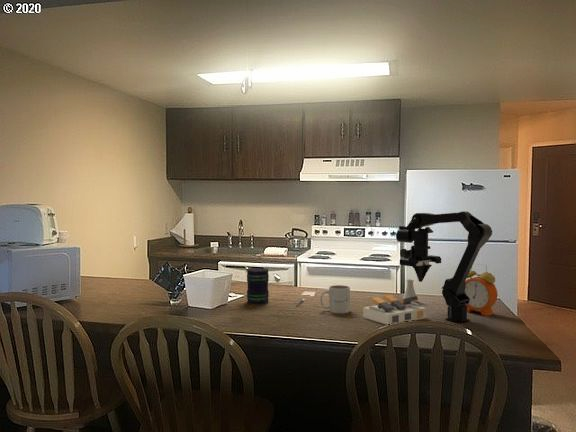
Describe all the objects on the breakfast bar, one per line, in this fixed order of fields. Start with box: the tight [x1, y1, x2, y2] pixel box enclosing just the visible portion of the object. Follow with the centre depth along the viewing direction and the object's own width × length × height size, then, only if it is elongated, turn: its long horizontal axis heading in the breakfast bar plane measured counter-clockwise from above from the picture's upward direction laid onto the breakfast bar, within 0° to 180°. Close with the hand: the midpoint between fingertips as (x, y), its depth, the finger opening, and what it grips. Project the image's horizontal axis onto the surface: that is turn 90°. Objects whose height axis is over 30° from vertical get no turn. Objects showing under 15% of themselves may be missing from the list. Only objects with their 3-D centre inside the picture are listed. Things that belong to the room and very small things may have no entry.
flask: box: [402, 278, 419, 304], centre depth 216 cm, size 7×7×10 cm
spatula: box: [295, 291, 316, 308], centre depth 220 cm, size 6×29×2 cm, turn 166°
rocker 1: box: [370, 296, 394, 312], centre depth 183 cm, size 9×4×2 cm, turn 32°
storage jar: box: [246, 267, 270, 306], centre depth 214 cm, size 10×10×15 cm
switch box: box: [362, 302, 427, 326], centre depth 186 cm, size 14×20×5 cm
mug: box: [319, 284, 351, 314], centre depth 199 cm, size 12×9×10 cm
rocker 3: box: [398, 295, 419, 305], centre depth 190 cm, size 9×4×2 cm, turn 32°
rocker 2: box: [382, 294, 406, 310], centre depth 187 cm, size 9×4×2 cm, turn 32°
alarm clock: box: [465, 263, 499, 317], centre depth 195 cm, size 13×6×20 cm, turn 40°
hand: (420, 281), depth 194 cm, fingers closed
